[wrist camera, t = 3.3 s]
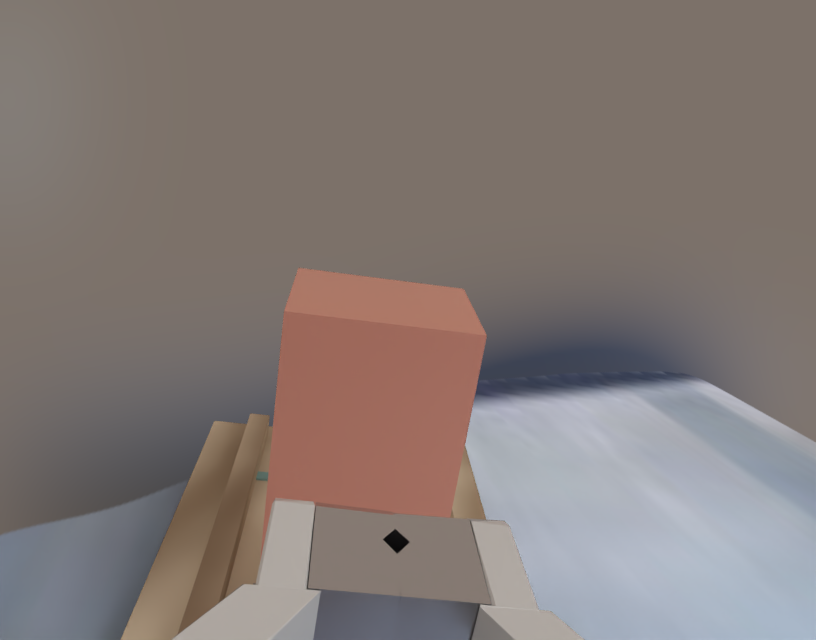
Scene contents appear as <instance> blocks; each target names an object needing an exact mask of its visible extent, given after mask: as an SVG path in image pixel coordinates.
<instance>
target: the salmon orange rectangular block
mask: <svg viewBox="0 0 816 640" xmlns="http://www.w3.org/2000/svg"><path fill="white" fill-rule="evenodd" d="M486 337H487V335H486V333H485V331H484V329H483V327H482V325H481V323H480V321H479V319H478V317H477V315H476V313H475V311H474V309H473V307H472V305H471V303H470V301H469V299H468V297H467V295H466V293H465V291H464V289H461V288H452V287H445V286H436V285H429V284H422V283H413V282H406V281H398V280H390V279H382V278H374V277H366V276H359V275H351V274H342V273H335V272H327V271H319V270H311V269H304V268H298V271H297V274H296V277H295V280H294V283H293V286H292V289H291V292H290V295H289V298H288V301H287V304H286V307H285V310H284V319H283V328H282V338H281V349H280V359H279V369H278V380H277V391H276V401H275V411H274V421H273V432H272V442H271V452H270V463H269V473H268V483H267V494H266V504H265V515H264V525H263V535H262V546H261V555H262V551H263V546H264V541H265V536H266V531H267V527H268V522H269V517H270V512H271V508H272V503H273V501H274V500H275V498H283V499H293V500H303V501H313V502H314V504H315V505H316V502H319V503H327V504H335V505H343V506H351V507H359V508H367V509H375V510H383V511H391V512H393V513H401V514H413V515H425V516H436V517H448V518H450V516H451V511H452V506H453V501H454V496H455V491H456V486H457V481H458V476H459V471H460V466H461V461H462V456H463V451H464V446H465V442H466V437H467V432H468V427H469V422H470V417H471V412H472V407H473V402H474V397H475V392H476V387H477V382H478V377H479V372H480V367H481V362H482V357H483V352H484V347H485V342H486ZM260 560H261V556H260ZM255 584H256V583H253V585H255Z"/></svg>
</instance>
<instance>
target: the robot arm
mask: <svg viewBox="0 0 816 640" xmlns="http://www.w3.org/2000/svg"><path fill="white" fill-rule="evenodd" d="M171 640H584V639H583V638H582V637H581V636H579V635H578V634H577V633H576V632H575V631H573V630H572V629H571V628H570V627H569V626H568V625H566V624H565V623H564V622H563V621H562V620H561V619H559V618H558V617H557V616H556V615H555V614H553V613H552V612H551V611H544V610H539V608H538V605H537V603H536V600H535V597H534V594H533V591H532V588H531V586H530V583H529V580H528V577H527V574H526V572H525V569H524V566H523V563H522V560H521V557H520V555H519V552H518V549H517V546H516V543H515V540H514V538H513V535H512V532H511V529H510V526H509V525H508V524H507V523H506V522H505V521H498V520H483V519H468V518H467V519H460V518H448V517H436V516H425V515H413V514H401V513H393V512H391V511H383V510H375V509H367V508H359V507H351V506H343V505H335V504H327V503H319V502H316V505H315V504H314V502H313V501H303V500H293V499H283V498H275V500H274V501H273V503H272V508H271V512H270V517H269V522H268V527H267V531H266V536H265V541H264V546H263V551H262V555H261V560H260V565H259V570H258V575H257V579H256V584H255V585H251V584H242V585H241V586H240V587H238V588H237V589H236V590H234V591H233V592H232V593H231V594H229V595H228V596H227V597H225V598H224V599H223V600H221V601H220V602H219V603H218V604H216V605H215V606H214V607H212V608H211V609H210V610H209V611H207V612H206V613H205V614H203V615H202V616H201V617H200V618H198V619H197V620H196V621H194V622H193V623H192V624H190V625H189V626H188V627H187V628H185V629H184V630H183V631H181V632H180V633H179V634H178V635H176V636H175V637H174V638H172V639H171Z"/></svg>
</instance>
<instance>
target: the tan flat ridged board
mask: <svg viewBox="0 0 816 640" xmlns="http://www.w3.org/2000/svg"><path fill="white" fill-rule="evenodd" d="M272 432H273V427H271V426H269V415H260V414H250V417H249V420H248V423H247V424H241V423H231V422H221V421H214V423H213V426H212V428H211V430H210V433H209V435H208V437H207V440H206V442H205V444H204V447H203V449H202V451H201V454H200V456H199V458H198V461H197V463H196V465H195V467H194V470H193V472H192V474H191V477H190V479H189V481H188V484H187V486H186V488H185V491H184V493H183V495H182V498H181V500H180V502H179V505H178V507H177V509H176V512H175V514H174V516H173V519H172V521H171V523H170V526H169V528H168V530H167V533H166V535H165V537H164V540H163V542H162V544H161V547H160V549H159V551H158V554H157V556H156V558H155V561H154V563H153V565H152V568H151V570H150V572H149V575H148V577H147V579H146V582H145V584H144V586H143V589H142V591H141V593H140V595H139V598H138V600H137V602H136V605H135V607H134V609H133V612H132V614H131V616H130V619H129V621H128V623H127V626H126V628H125V630H124V633H123V635H122V637H121V640H171V639H172V638H174V637H175V636H176V635H178V634H179V633H180V632H181V631H183V630H184V629H185V628H187V627H188V626H189V625H190V624H192V623H193V622H194V621H196V620H197V619H198V618H200V617H201V616H202V615H203V614H205V613H206V612H207V611H209V610H210V609H211V608H212V607H214V606H215V605H216V604H218V603H219V602H220V601H221V600H223V599H224V598H225V597H227V596H228V595H229V594H231V593H232V592H233V591H234V590H236V589H237V588H238V587H240V586H241V585H242V584H251V585H253V583H256V579H257V575H258V570H259V565H260V556H261V546H262V535H263V525H264V515H265V504H266V494H267V483H268V473H269V463H270V452H271V442H272ZM450 518H460V519H467V518H468V519H483V520H486V517H485V514H484V510H483V507H482V503H481V500H480V496H479V493H478V489H477V486H476V483H475V479H474V476H473V472H472V469H471V465H470V462H469V458H468V455H467V451H466V448H465V446H464V451H463V456H462V461H461V466H460V471H459V476H458V481H457V486H456V491H455V496H454V501H453V506H452V511H451V516H450Z"/></svg>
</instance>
